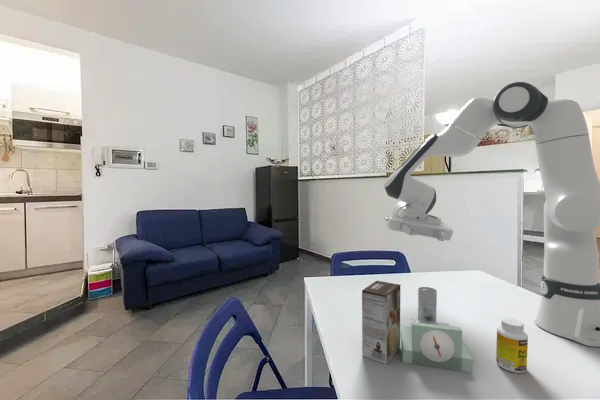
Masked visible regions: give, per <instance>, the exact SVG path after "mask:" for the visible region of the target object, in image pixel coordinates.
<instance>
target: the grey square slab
mask: <svg viewBox="0 0 600 400" xmlns="http://www.w3.org/2000/svg"><path fill="white" fill-rule="evenodd" d="M412 322H417V323H425V324H434V325H442V326H450V324H449V322H447V323H446V322H439V321H436V322H431V321H422V320H418V319H413V318H411V319H410V325H411V326H410V327H412Z"/></svg>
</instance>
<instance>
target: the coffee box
mask: <svg viewBox="0 0 600 400" xmlns="http://www.w3.org/2000/svg"><path fill="white" fill-rule="evenodd" d="M361 291H362V293H361V301H362V302H361V305H362V307H361V310H362V312H361V315H362V316H361V325H362V326H361V333H362V334H361V336H362V337H361V339H362V340H361V341H362V342H361V350H362V351H361V353H362V357H364V358H368V359H370V360H373V361H376V362H378V363H381V364H384V365H388V364H389V363H390V362H391V360H392V359H393V358H394V357H395V355H396V354H397V352H398V351H399V349H400V348H401V284H400V283H399V284H398V283H392V282H387V281H382V280H381V281H380V280H376V281H374V282H372V283H371V284H369V285H368V286H366V287H365V288H363V289H361Z"/></svg>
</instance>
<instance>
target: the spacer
mask: <svg viewBox="0 0 600 400" xmlns="http://www.w3.org/2000/svg"><path fill="white" fill-rule="evenodd" d="M417 291H418V292H417V295H418V296H417V298H418V299H417V320H422V321H431V322H437V301H438V300H437V296H438V295H437V293H438V291H437V289H435V288H433V287H428V286H420V287H418V290H417Z"/></svg>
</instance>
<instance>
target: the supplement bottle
mask: <svg viewBox="0 0 600 400" xmlns="http://www.w3.org/2000/svg"><path fill="white" fill-rule="evenodd" d="M500 323H501V324H500V325H498V326H497V328H496V350H495V351H496V352H495V353H496V354H495V361H496V364H497V365H498V366H499V367H500V368H502V369H504V370H506V371H508V372H510V373H514V374H522V373H525V372H526V371H527V367H528V342H529V340H528V338H529V336H528V334H527V332H525V328H524V323H523V322H522V321H520V320H519V319H515V318H511V317H510V318H509V317H503V318H502V319H501V322H500Z"/></svg>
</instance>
